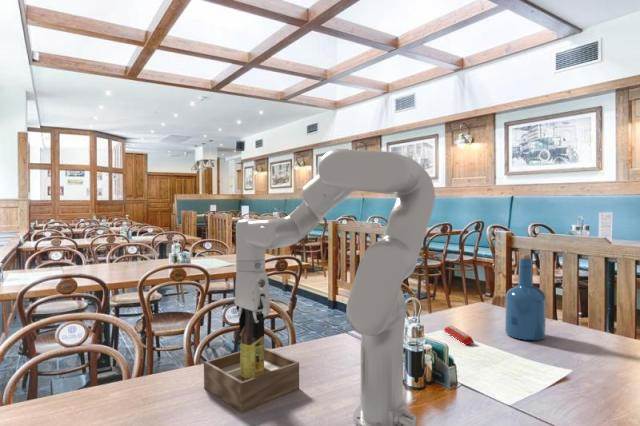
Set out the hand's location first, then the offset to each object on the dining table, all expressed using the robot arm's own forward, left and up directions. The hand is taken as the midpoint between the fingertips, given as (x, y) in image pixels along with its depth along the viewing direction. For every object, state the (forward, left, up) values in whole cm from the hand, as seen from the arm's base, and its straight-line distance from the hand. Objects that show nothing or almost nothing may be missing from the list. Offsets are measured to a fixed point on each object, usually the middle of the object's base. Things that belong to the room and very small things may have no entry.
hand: (251, 333), depth 110 cm
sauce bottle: (0, 0, -13) cm, 13 cm away
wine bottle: (-35, -96, -15) cm, 103 cm away
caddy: (0, 0, -15) cm, 15 cm away
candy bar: (-19, -76, -15) cm, 80 cm away
